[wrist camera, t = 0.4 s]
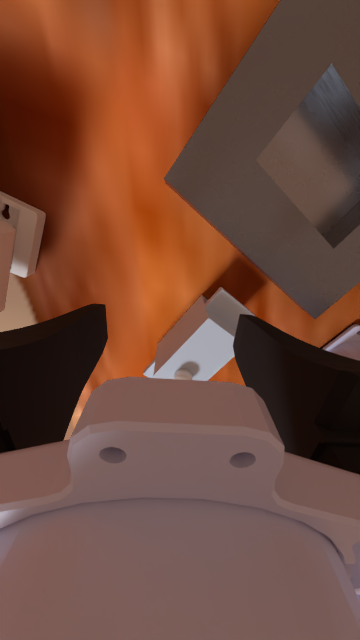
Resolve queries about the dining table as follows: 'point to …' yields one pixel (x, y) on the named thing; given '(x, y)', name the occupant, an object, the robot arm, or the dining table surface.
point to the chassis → (287, 153)
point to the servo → (199, 340)
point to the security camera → (18, 240)
